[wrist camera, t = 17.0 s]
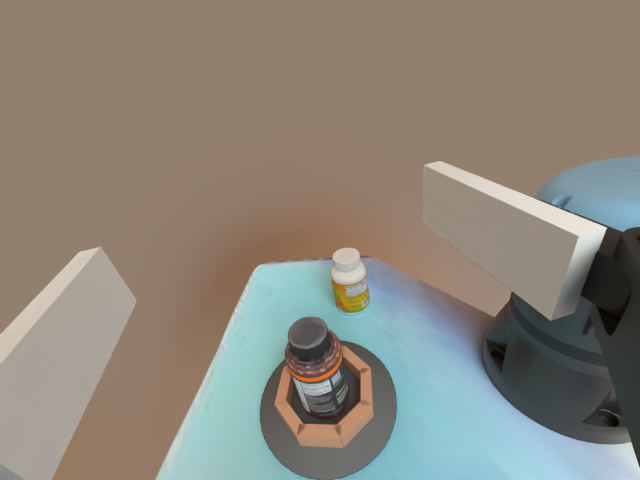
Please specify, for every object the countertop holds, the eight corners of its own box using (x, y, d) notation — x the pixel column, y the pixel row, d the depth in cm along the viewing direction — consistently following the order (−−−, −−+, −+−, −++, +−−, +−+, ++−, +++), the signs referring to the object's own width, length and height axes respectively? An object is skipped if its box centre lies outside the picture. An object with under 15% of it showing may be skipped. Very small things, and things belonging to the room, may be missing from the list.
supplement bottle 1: (309, 370, 38) (289, 306, 32) (354, 376, 36) (342, 309, 30) (294, 417, 33) (268, 352, 27) (346, 427, 31) (330, 359, 25)
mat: (333, 324, 44) (333, 322, 44) (426, 399, 32) (426, 396, 32) (239, 396, 37) (238, 394, 36) (315, 527, 25) (314, 525, 25)
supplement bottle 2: (333, 297, 49) (324, 249, 44) (363, 289, 50) (358, 241, 45) (341, 319, 45) (331, 269, 40) (374, 311, 45) (369, 260, 40)
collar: (331, 342, 41) (329, 332, 40) (392, 396, 33) (392, 385, 32) (265, 394, 36) (261, 385, 35) (319, 473, 28) (315, 463, 27)
